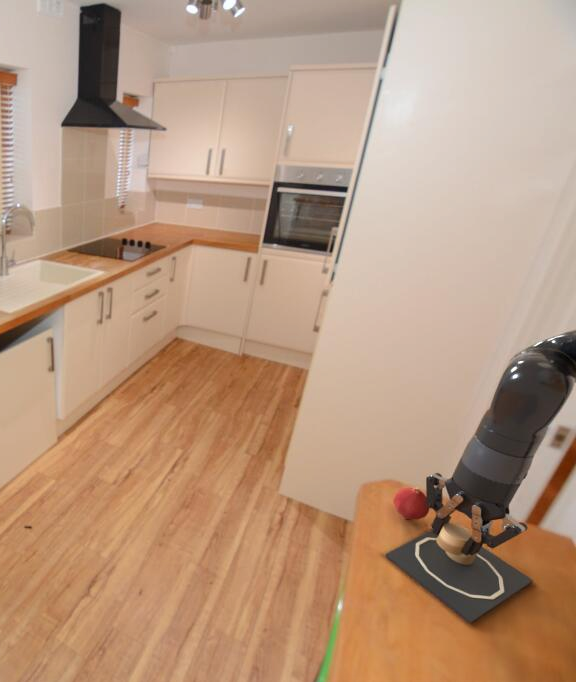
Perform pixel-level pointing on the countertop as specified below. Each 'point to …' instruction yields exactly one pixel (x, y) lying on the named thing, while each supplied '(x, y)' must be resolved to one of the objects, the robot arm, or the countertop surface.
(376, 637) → the countertop surface
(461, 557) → the dot
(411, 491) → the onion
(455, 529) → the dot
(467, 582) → the slate board
